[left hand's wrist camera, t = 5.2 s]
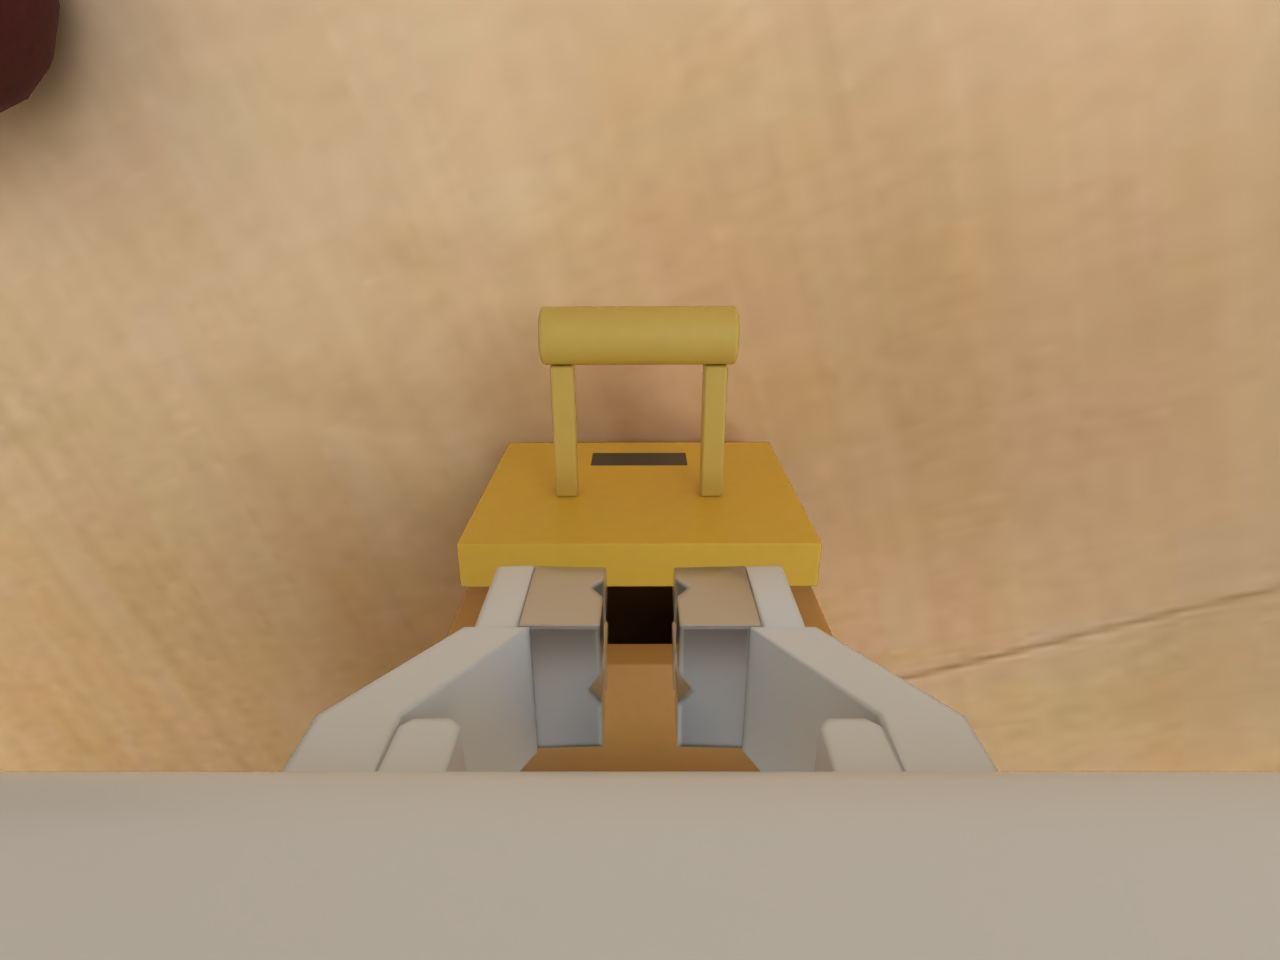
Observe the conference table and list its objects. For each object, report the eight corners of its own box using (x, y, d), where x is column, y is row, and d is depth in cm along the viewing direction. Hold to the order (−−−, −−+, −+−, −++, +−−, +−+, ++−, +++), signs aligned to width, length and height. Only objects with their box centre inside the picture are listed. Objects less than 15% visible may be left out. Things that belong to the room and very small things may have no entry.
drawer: (497, 285, 22) (432, 329, 15) (780, 285, 22) (844, 328, 15) (539, 860, 31) (511, 1052, 24) (740, 860, 31) (769, 1051, 24)
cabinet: (502, 506, 26) (432, 665, 17) (776, 505, 26) (846, 664, 17) (534, 905, 34) (497, 1157, 25) (746, 905, 34) (784, 1156, 25)
